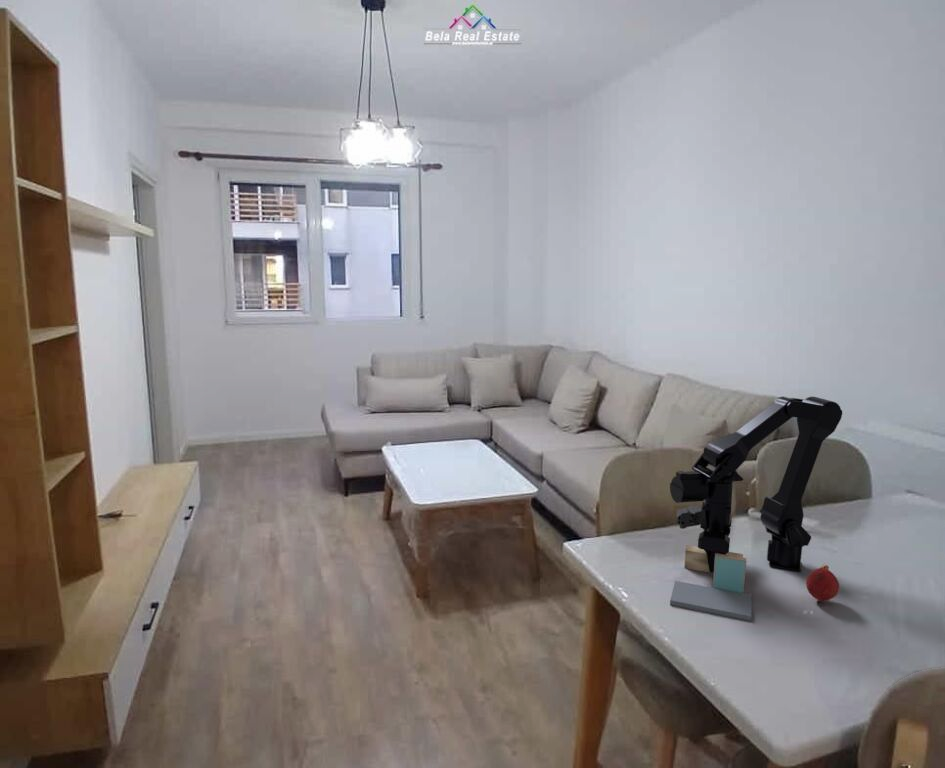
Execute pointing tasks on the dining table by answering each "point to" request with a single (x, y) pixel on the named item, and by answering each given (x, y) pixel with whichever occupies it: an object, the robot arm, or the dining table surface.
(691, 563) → the curved wooden plank
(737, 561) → the tile
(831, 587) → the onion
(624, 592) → the dining table surface
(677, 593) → the mat
